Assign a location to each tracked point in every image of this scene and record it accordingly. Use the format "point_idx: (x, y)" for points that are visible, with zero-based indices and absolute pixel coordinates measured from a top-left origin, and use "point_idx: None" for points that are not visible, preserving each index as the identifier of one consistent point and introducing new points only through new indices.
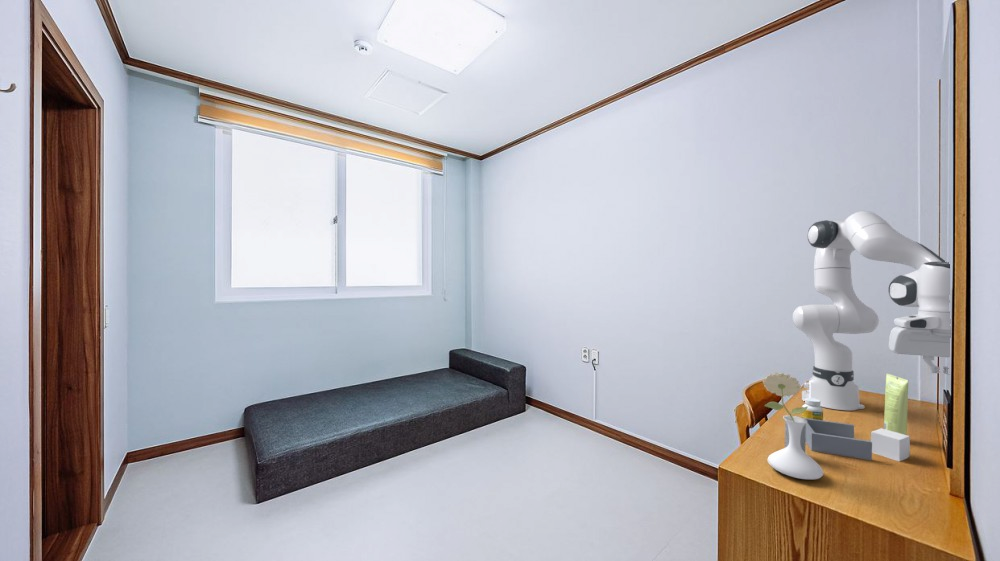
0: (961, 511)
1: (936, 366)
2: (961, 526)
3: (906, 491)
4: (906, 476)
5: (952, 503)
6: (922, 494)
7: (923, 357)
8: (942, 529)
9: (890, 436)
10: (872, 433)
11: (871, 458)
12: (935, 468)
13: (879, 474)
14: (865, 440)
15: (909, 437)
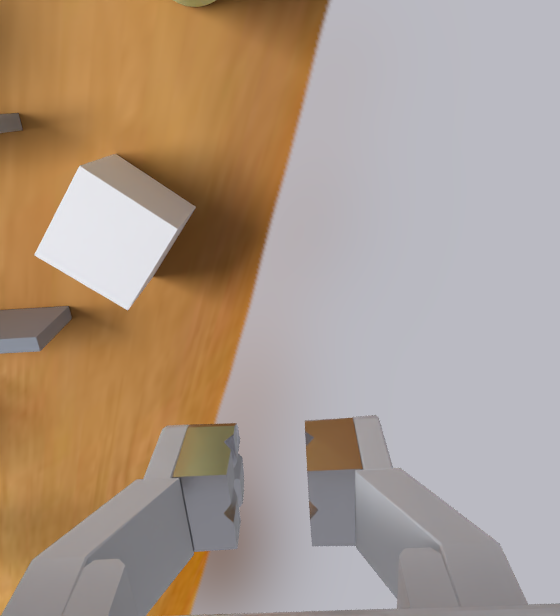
0: None
1: (217, 516)
2: (191, 583)
3: None
4: (148, 395)
5: None
6: None
7: (26, 597)
8: (155, 606)
9: (101, 280)
10: (42, 257)
11: (67, 322)
12: (248, 281)
13: (82, 417)
14: (19, 342)
15: (177, 230)
